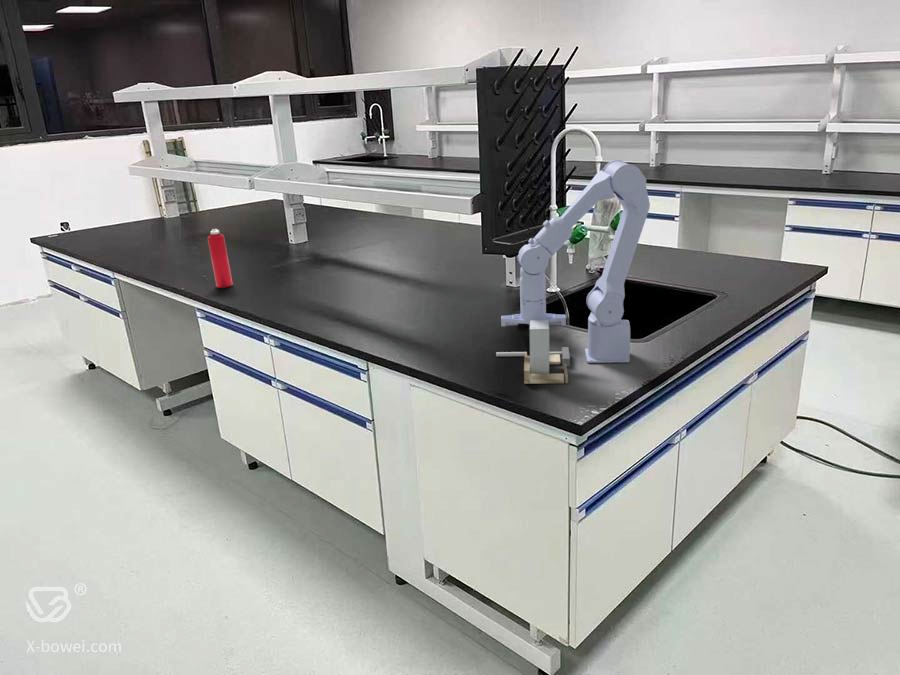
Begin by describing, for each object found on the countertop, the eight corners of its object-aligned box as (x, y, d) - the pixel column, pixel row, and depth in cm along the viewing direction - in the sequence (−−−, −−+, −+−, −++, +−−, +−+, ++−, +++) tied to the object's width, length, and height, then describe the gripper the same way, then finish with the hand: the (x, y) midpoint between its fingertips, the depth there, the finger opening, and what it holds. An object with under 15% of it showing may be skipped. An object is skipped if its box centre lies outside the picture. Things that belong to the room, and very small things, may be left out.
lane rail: (568, 354, 159) (568, 346, 159) (569, 366, 153) (569, 358, 152) (496, 355, 161) (496, 347, 161) (494, 367, 155) (494, 359, 154)
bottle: (227, 287, 232) (217, 230, 225) (213, 287, 233) (202, 230, 226) (235, 283, 237) (225, 227, 230) (221, 283, 238) (211, 227, 231)
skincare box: (549, 380, 146) (549, 329, 142) (529, 381, 147) (529, 329, 143) (549, 369, 152) (549, 319, 148) (530, 369, 152) (529, 319, 148)
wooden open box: (564, 356, 158) (564, 333, 156) (568, 383, 144) (568, 359, 142) (524, 356, 159) (524, 334, 157) (524, 383, 145) (523, 359, 143)
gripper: (564, 291, 154) (564, 347, 159) (501, 293, 156) (503, 347, 161) (566, 301, 147) (566, 358, 152) (500, 302, 149) (501, 359, 154)
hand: (533, 354), depth 156 cm, fingers closed
